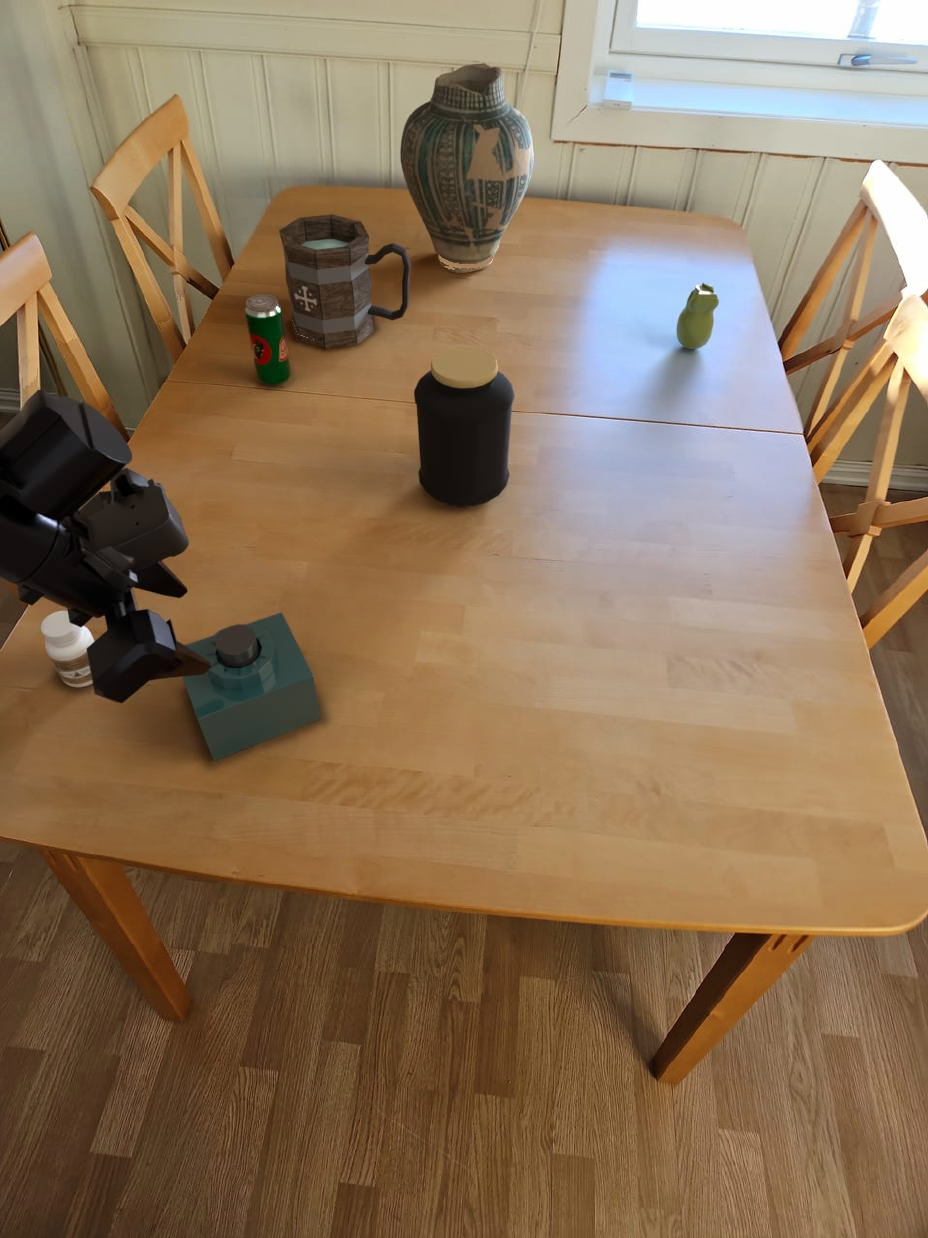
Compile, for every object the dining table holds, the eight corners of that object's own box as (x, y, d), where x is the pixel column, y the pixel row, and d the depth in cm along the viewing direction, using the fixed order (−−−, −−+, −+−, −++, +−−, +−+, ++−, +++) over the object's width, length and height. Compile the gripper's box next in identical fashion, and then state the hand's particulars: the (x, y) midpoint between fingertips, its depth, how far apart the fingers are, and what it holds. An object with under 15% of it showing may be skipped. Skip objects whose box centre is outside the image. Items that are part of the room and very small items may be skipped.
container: (407, 463, 110) (403, 340, 96) (493, 451, 112) (501, 330, 99) (427, 523, 102) (425, 398, 89) (519, 509, 104) (531, 385, 91)
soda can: (292, 386, 121) (280, 309, 112) (257, 388, 121) (242, 311, 112) (291, 367, 125) (280, 291, 116) (257, 369, 124) (243, 293, 115)
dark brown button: (226, 673, 75) (221, 659, 74) (215, 646, 77) (210, 632, 76) (264, 660, 76) (260, 646, 75) (252, 633, 78) (248, 619, 77)
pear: (701, 337, 134) (717, 277, 126) (712, 354, 130) (729, 294, 123) (668, 338, 133) (682, 278, 126) (678, 355, 130) (693, 295, 122)
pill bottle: (63, 693, 84) (36, 645, 78) (60, 662, 86) (33, 613, 81) (108, 681, 85) (84, 633, 79) (104, 650, 87) (80, 601, 82)
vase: (541, 248, 154) (560, 60, 131) (499, 301, 140) (512, 102, 117) (432, 225, 159) (432, 41, 136) (382, 274, 145) (372, 78, 122)
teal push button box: (213, 761, 79) (193, 707, 72) (188, 693, 84) (167, 637, 77) (321, 719, 82) (311, 664, 76) (291, 656, 88) (279, 599, 81)
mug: (282, 346, 128) (267, 250, 117) (300, 303, 137) (288, 211, 126) (406, 354, 128) (404, 259, 117) (417, 311, 137) (415, 219, 126)
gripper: (133, 561, 51) (296, 651, 63) (91, 400, 62) (237, 503, 74) (12, 669, 53) (192, 736, 65) (-8, 494, 64) (149, 579, 76)
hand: (195, 629), depth 70 cm, fingers open, 9 cm apart
